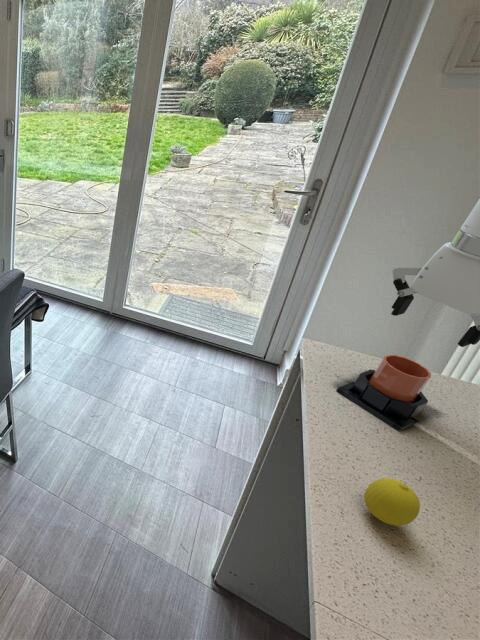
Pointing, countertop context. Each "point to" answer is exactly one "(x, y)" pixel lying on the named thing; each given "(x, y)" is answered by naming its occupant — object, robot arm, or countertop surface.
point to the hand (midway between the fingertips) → (428, 328)
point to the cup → (400, 378)
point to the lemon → (392, 501)
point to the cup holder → (383, 402)
